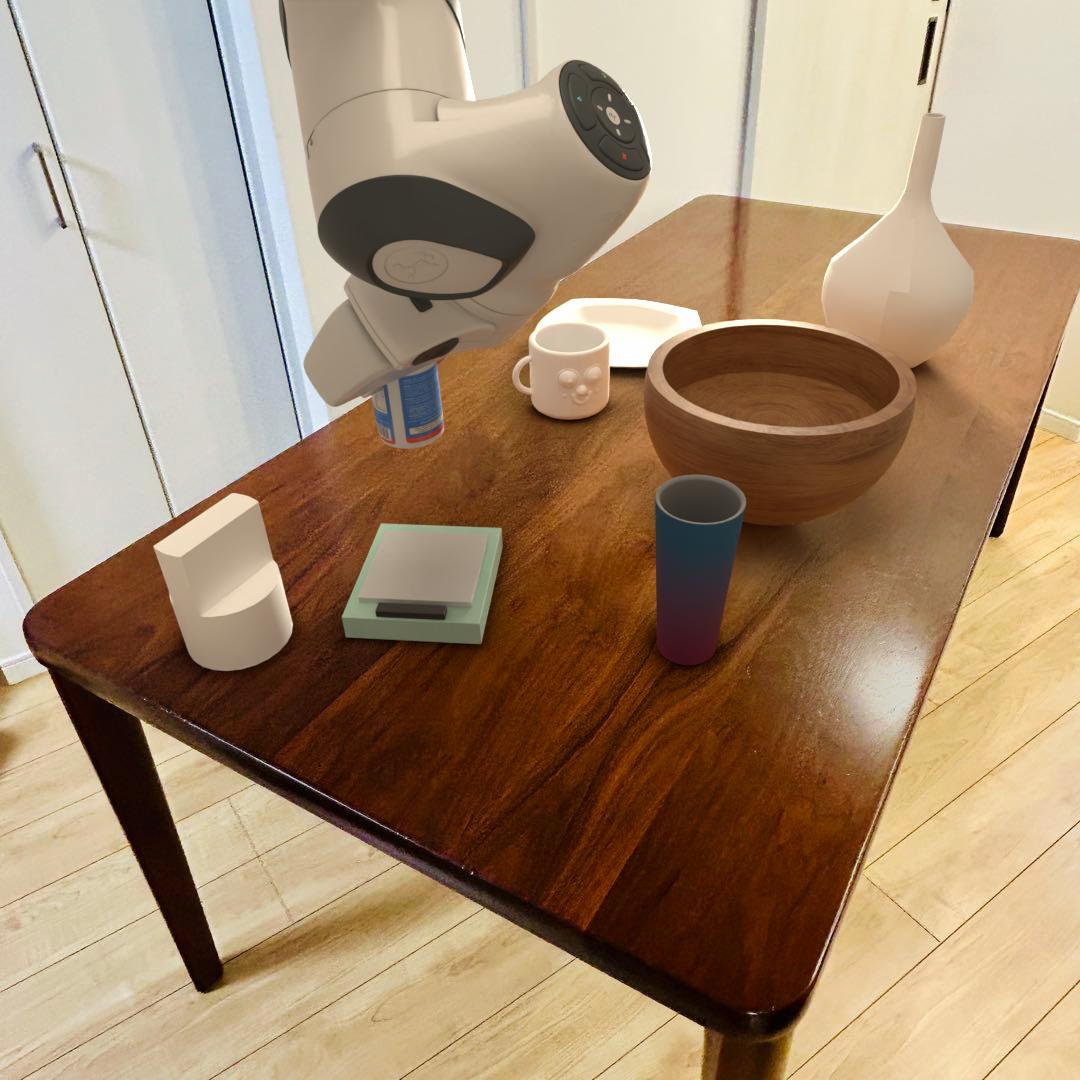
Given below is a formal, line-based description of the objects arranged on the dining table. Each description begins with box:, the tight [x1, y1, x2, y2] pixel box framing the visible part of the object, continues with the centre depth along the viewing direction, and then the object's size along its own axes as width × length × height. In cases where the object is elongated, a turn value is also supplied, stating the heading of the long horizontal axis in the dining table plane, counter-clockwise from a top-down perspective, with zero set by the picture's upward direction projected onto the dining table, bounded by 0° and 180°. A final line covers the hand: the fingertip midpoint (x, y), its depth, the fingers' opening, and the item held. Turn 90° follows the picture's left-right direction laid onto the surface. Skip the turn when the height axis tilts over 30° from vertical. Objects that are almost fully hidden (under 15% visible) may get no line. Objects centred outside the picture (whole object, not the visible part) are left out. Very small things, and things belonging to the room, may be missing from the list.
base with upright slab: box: [153, 492, 294, 672], centre depth 76 cm, size 9×9×12 cm
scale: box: [341, 522, 504, 645], centre depth 83 cm, size 14×12×3 cm
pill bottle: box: [371, 362, 445, 450], centre depth 71 cm, size 6×5×10 cm
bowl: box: [643, 318, 917, 526], centre depth 89 cm, size 25×25×15 cm
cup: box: [654, 475, 746, 666], centre depth 72 cm, size 7×7×15 cm
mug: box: [511, 322, 611, 421], centre depth 109 cm, size 12×10×9 cm
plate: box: [534, 297, 703, 369], centre depth 126 cm, size 23×23×2 cm
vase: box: [820, 112, 975, 369], centre depth 113 cm, size 18×18×30 cm
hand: (397, 372), depth 71 cm, fingers closed on pill bottle, 5 cm apart
